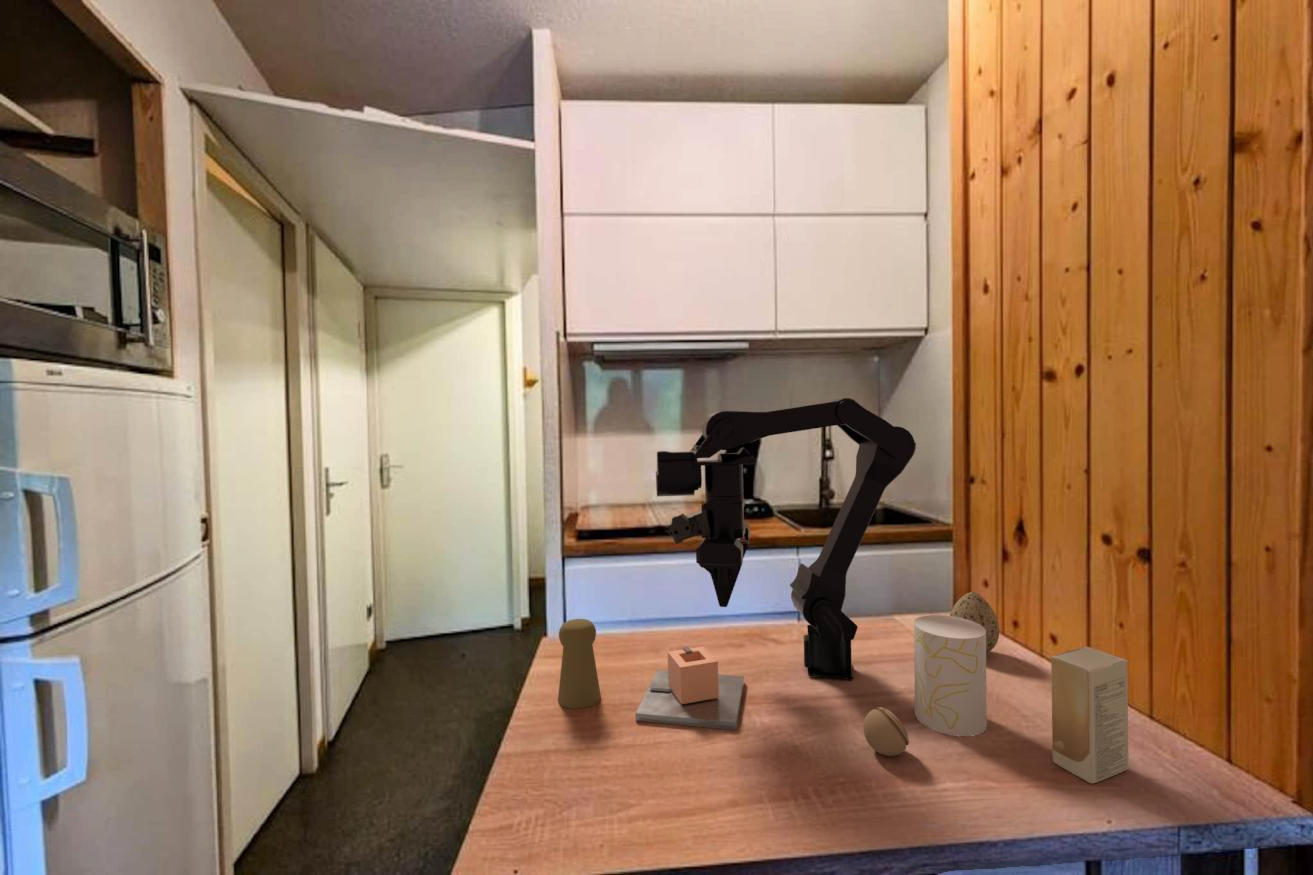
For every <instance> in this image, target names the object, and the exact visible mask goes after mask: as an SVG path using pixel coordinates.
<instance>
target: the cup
mask: <svg viewBox="0 0 1313 875" xmlns="http://www.w3.org/2000/svg"><path fill="white" fill-rule="evenodd" d="M913 646H914V647H913V648H914V650H913V652H914V653H913V654H914V656H913V657H914V659H913V660H914V661H913V662H914V665H913V666H914V714H915V715H916V716H915V715H914V716H915V718H916V717H917V718H918V719H919V720H920V721H919V720H918V719H917V718H916V719H917V720H918V721H919V723H921V722H922V723H923V724H925V725H926V726H928V727H929V728H928V727H927V728H928V729H930V728H931V730H932V729H934V730H933V731H935V730H936V731H935V732H937V731H939V732H938V733H940V732H942V733H941V734H943V733H945V734H944V735H947V734H949V736H952V735H955V736H954V737H960V736H970V735H971V737H973V736H972V735H977V734H980V733H982V732H983V731H985V732H986V730H987V728H986V727H988V722H987V718H988V716H987V713H988V712H987V709H988V708H987V653H986V630H985V628H984V627H983V626H981V625H980V624H978V623H976V622H973V621H970V620H967V619H963V618H959V617H953V616H950V615H942V614H941V615H940V614H932V615H931V614H929V615H923V616H918V617H917V618H915V619H914V621H913ZM922 723H921V724H922ZM923 724H922V725H923ZM925 725H924V726H925ZM926 726H925V727H926ZM985 729H986V730H985ZM983 733H984V732H983ZM983 733H982V734H983ZM957 735H958V736H957ZM980 735H981V734H980ZM977 736H978V735H977Z"/></svg>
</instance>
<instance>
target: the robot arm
mask: <svg viewBox="0 0 1313 875" xmlns="http://www.w3.org/2000/svg"><path fill="white" fill-rule="evenodd" d="M834 426H837V427H839V429H840V430H841V431H843V433H844V434H845V435H846V436H848V437H849V439H851V440H852V441H853V442H854V443H856V444H857V445H858V449H857V453H856V456H855V457H856V460H855V475H854V479H853V480H852V482H851V486H850V487H849V489H848V492H847V494H846V496H845V499H844V500H843V503H842V505H841V507H840V509H839V511H838V513H837V515H836V518H835V520H834V523H833V524H832V527H831V529H830V531H829V534H828V535H827V538H826V540H825V542H824V545H823V547H822V549H821V551H820V554H819V555H818V557H817V559H816V560H815V561H814V562H813V563H811V564H810V565H809V566H807V565H805V564H803V563H800V565H799V567H798V570H797V573H796V576H795V578H794V580H793V581H792V582H790V584H789V586H790V588H791V589H792V590H791V593H790V599H791V602H792V604H793V607H795V609H796V610H797V611H798V612H799V614H800V615H801V616H802V617H803V619H804V620H805V621H806V622H807V623H808V624H807V634H804V635H803V664H804V668H806V669H807V676H808V677H813V678H821V679H823V678H825V679H837V680H838V679H839V680H854V672H853V668H852V667H853V666H852V664H853V663H852V641H853V640H854V639H855V636H856V634H857V631H858V625H857V624H856V623H855V622H854V621H853V620H852V619H851V618H849V616H848V615H846V613H844V611H842V609H843V607H844V602H845V599H846V590H847V589H846V588H847V574H848V571H849V568H850V567H851V565H852V562H853V561H854V557H855V556H856V553H857V551H858V548H859V547H860V545H861V542H862V540H863V538H864V536H865V533H866V531H867V529H868V528H869V525H870V522H871V521H872V518H873V515H874V514H875V512H876V509H877V508H878V505H879V503H880V501H881V499H882V497H883V494H884V492H885V490H886V488H888V486H889V485H891V483H892V482H893V481H895V480H896V478H897V477H899V476H900V475H901V474H902V473H903V471H904V470H905V469H906V467H907V466H908V464H909V463H910V461H911V460H912V458H913V456H914V455H915V453H916V448H917V447H916V446H917V443H916V441H915V439H914V437H913V434H911V432H910V431H909V430H907V429H906V428H905V427H902V426H894V425H892V424H891V423H890V422H888V421H887V420H885V419H884V418H883V417H880V416H879V415H877V414H875V413H874V412H872V411H869V410H868V409H866V408H865V407H864V406H863V405H860V403H858V402H857V401H856V400H855V399H852V398H850V397H849V398H847V397H845V398H836V399H833V400H831V401H827V402H819V403H813V404H812V403H811V404H808V405H801V406H800V405H799V406H793V407H788V408H786V407H785V408H781V409H780V408H779V409H774V410H767V411H737V410H736V411H735V410H733V411H731V410H724V411H722V410H721V411H715V412H712V413H710V414H708V415H707V416H706V418H705V419H704V421H703V423H702V426H701V433H702V434H701V435H700V436H699V438H698V439H697V441H696V442H695V443H694V444H693V445H692V448H691V449H690V451H667V450H661V451H660V450H658V451H656V470H655V488H656V489H655V491H656V497H681V496H683V497H684V496H686V497H688V496H695V491H698V490H699V489H702V483H703V482H702V481H703V478H702V477H703V476H702V466H704V489H705V490H704V494H705V495H704V499H705V501H704V502H703V503H702V504H701V507H700V508H701V510H697V511H694V512H691V513H687V514H684V513H681V514H679V515H677V516H675V515H674V516H673V517H672V518H671V521H670V522H669V523H668V524H667V527H668V535H669V537H672V540H673V542H674V545H677V544H680V543H681V544H682V543H683V542H684V541H686V540H688V539H692V538H694V537H697V536H699V535H701V539H703V540H702V541H701V542H700V543H699V544H698V546H697V548H696V549H695V558H696V559H695V563H696V564H698V565H699V567H700V568H703V569H704V570H705V571H707V572H708V573H709V574H710V577H711V580H712V583H713V588H714V591H715V595H716V598H717V601H718V606H719V607H720V608H727V607H728V605H729V602H730V599H731V597H732V594H733V591H734V589H735V588H734V587H735V586H736V582H737V580H738V578H739V574H740V571H741V569H742V566H743V562H744V558H745V555H746V552H747V549H748V546H749V543H750V538H751V527H750V526H751V525H749V524H748V522H746V521H745V516H744V515H745V513H744V512H745V510H744V507H745V505H746V504H745V503H746V501H745V500H746V499H745V498H744V476H743V475H744V469H743V468H744V466H743V465H755V464H756V463H757V459H756V458H754V457H753V456H752V455H751V454H750V453H749V451H748V450H747V449H746V448H745V447H743V446H745V445H749V444H751V443H753V442H756V441H758V440H760V439H761V440H762V439H763V438H766V437H769V436H775V435H782V434H787V433H795V432H801V431H808V430H813V429H814V430H815V429H820V428H827V427H834ZM740 447H741V448H740ZM737 448H740V449H739V450H738V451H737V452H729V453H728V452H725V453H724V452H723V453H719V452H720V451H731V450H734V449H737ZM717 453H718V455H717V458H716V459H710V458H711V457H713V456H714V455H716V454H717ZM698 459H703V460H698ZM704 459H709V460H704ZM743 538H744V540H743Z"/></svg>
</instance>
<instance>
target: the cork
mask: <svg viewBox="0 0 1313 875" xmlns="http://www.w3.org/2000/svg"><path fill="white" fill-rule="evenodd" d="M596 637H597V629H596V626H595V624H594V623H593V622H592V621H591V620H589V619H585V618H574V619H569V620H567V621H565V622H564V623H562V624H561V626H560V628H559V631H558V638H559V639H558V640H559V642H560V644H561V646H562V654H561V656H562V657H561V666H560V676H559V686H558V687H559V688H558V695H557V702H558V704H559V705H560V706H562V707H563V708H566V709H572V710H574V709H575V710H581V709H586V708H589V707H592V706H594V705H596V704H598V703H599V701H601V697H602V696H601V689H600V684H599V677H598V670H597V664H596V658H595V651H594V646H593V645H594V642H595V640H596ZM578 708H580V709H578Z"/></svg>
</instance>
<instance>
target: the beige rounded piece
mask: <svg viewBox="0 0 1313 875" xmlns="http://www.w3.org/2000/svg"><path fill="white" fill-rule="evenodd" d="M862 729H863V730H862V731H863V734H864V738H865V740H866V742H867V743H868V745H869V746H870V747H871V748H872V749H873V750H874V751H875V752H877V753H879V754H881V755H882V756H889V757H890V756H897V755H900V754H902V753H903V752H904V751H906V749H907V746H909V743H910V739H909V733H908V730H907V729H906V727H905V726H904V725H903V723H902V722H901V720H900V719H899V718H898V717H897V716H896V715H895V714H894V713H893V712H892V711H891V710H889V709H886V708H884V707H881V706H880V707H877V708H876V709H875V708H874V709H872V710H870V711H869V712H868V713H867V715H866V716H865V719H864V721H863V728H862Z"/></svg>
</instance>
